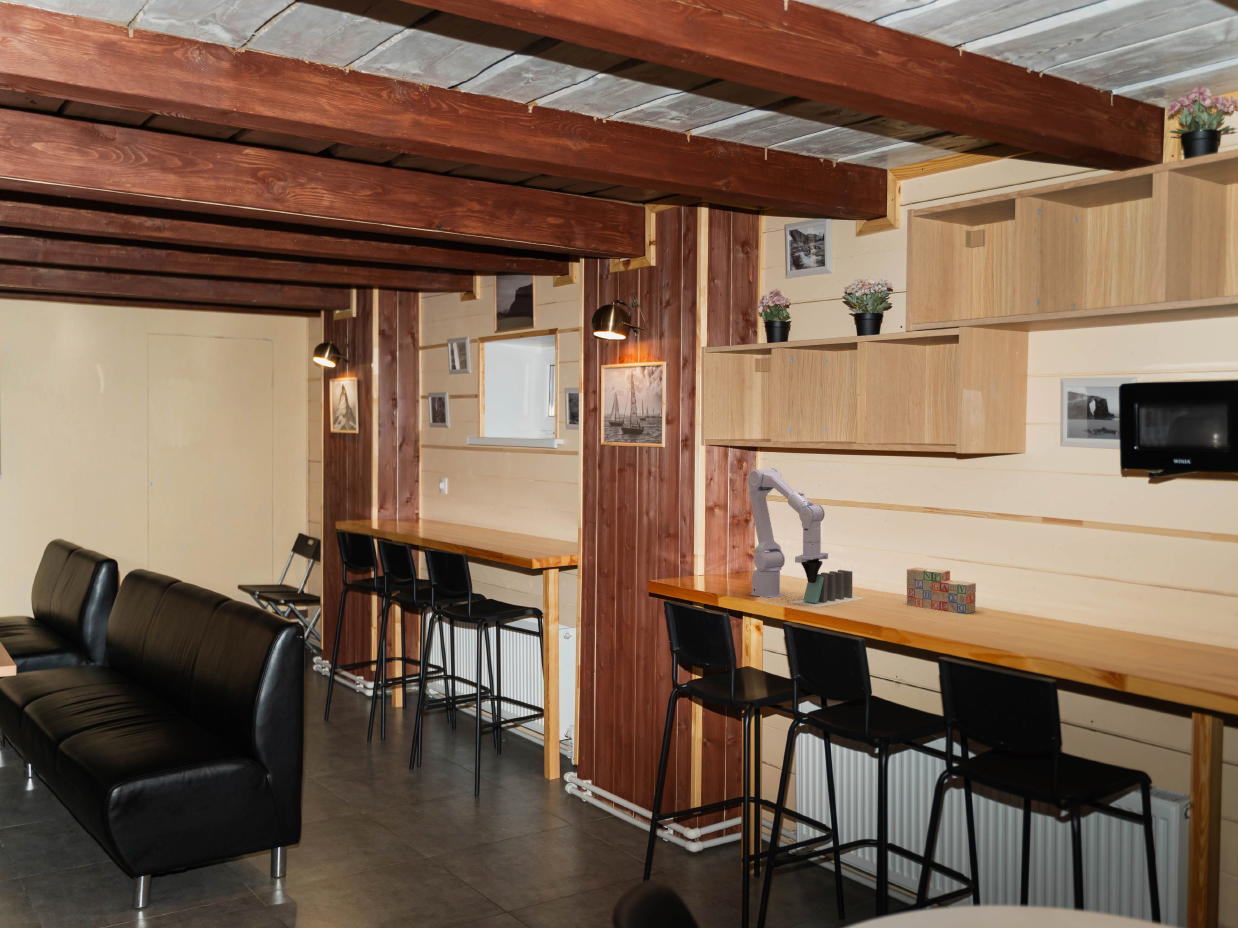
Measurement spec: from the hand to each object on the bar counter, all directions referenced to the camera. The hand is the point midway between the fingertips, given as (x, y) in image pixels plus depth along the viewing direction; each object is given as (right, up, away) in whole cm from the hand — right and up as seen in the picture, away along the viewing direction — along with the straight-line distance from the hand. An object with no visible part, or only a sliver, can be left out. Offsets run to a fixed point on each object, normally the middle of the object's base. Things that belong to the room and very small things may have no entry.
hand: (811, 582), depth 351 cm
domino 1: (0, -7, 0) cm, 7 cm away
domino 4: (+10, -6, +9) cm, 15 cm away
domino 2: (+3, -7, +3) cm, 8 cm away
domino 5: (+13, -6, +12) cm, 19 cm away
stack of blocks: (+40, -8, -8) cm, 42 cm away
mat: (+7, -7, +6) cm, 11 cm away
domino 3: (+6, -7, +6) cm, 11 cm away
